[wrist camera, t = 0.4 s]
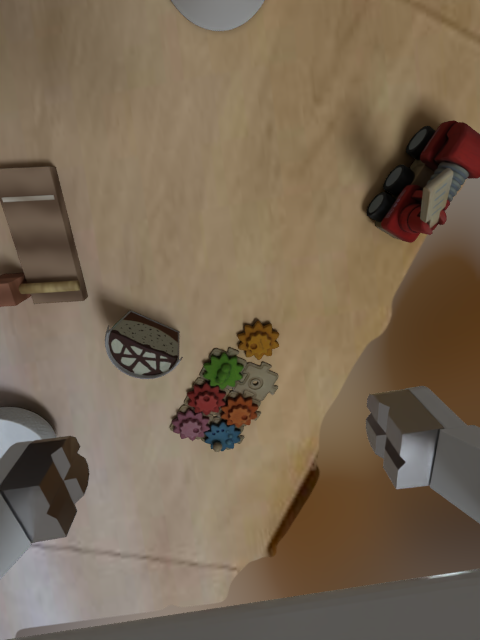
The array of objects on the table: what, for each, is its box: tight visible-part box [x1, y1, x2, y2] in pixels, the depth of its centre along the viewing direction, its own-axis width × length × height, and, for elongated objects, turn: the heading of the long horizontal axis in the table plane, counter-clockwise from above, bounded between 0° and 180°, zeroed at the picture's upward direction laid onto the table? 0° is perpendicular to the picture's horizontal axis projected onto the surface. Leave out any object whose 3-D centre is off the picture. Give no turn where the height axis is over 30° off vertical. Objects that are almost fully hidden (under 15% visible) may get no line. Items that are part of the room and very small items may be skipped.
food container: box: [105, 310, 183, 379], centre depth 54 cm, size 12×6×10 cm, turn 61°
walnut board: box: [0, 167, 88, 304], centre depth 49 cm, size 20×8×2 cm, turn 3°
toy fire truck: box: [367, 121, 480, 242], centre depth 43 cm, size 11×16×18 cm
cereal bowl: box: [0, 407, 56, 459], centre depth 61 cm, size 17×17×7 cm
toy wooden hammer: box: [0, 273, 80, 307], centre depth 50 cm, size 4×13×6 cm, turn 92°
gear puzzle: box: [170, 321, 279, 452], centre depth 63 cm, size 31×16×4 cm, turn 152°
